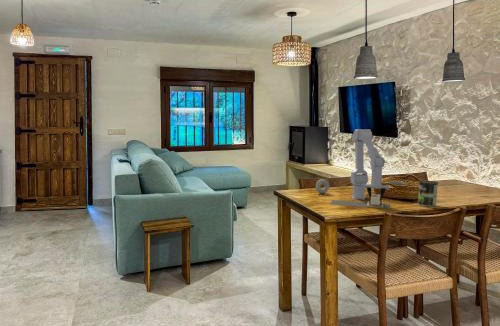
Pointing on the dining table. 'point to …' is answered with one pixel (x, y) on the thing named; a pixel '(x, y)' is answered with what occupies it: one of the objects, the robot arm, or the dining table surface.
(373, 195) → the card box
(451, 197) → the dining table surface
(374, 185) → the robot arm
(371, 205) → the frame
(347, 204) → the mat
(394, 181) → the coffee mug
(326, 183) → the donut
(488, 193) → the dining table surface
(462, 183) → the dining table surface
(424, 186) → the coffee can
